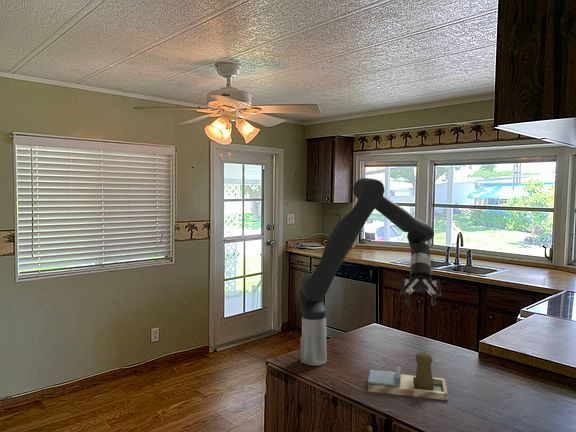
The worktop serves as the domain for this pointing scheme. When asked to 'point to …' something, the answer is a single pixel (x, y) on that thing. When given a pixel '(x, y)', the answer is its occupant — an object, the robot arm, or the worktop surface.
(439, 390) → the board
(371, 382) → the cover
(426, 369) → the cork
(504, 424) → the worktop surface
